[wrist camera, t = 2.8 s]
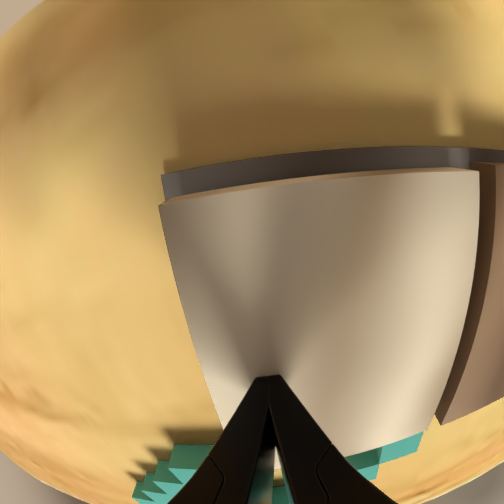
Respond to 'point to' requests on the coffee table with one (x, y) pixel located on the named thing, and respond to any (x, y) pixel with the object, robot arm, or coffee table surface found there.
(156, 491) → the alien figure
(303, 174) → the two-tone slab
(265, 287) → the beige rectangular slab
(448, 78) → the coffee table surface
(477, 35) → the coffee table surface
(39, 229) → the coffee table surface
